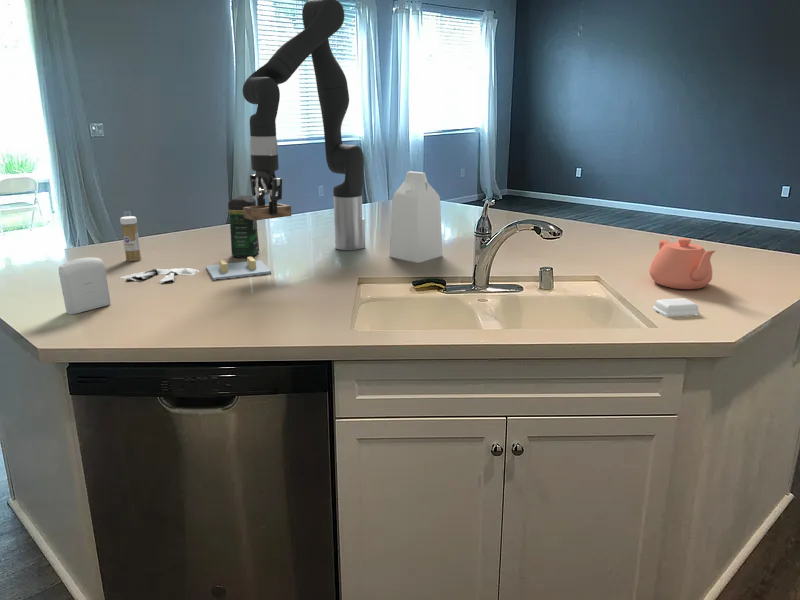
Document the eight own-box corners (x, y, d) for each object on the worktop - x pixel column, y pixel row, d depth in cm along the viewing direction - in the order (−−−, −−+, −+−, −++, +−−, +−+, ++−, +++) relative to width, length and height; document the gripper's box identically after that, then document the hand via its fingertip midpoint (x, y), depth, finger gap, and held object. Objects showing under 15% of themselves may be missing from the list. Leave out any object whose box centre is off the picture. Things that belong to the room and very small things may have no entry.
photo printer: (71, 316, 149) (62, 264, 145) (62, 312, 151) (53, 261, 148) (113, 305, 156) (106, 255, 152) (105, 301, 159) (97, 253, 155)
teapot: (734, 295, 161) (741, 247, 157) (680, 299, 158) (686, 250, 154) (680, 272, 181) (686, 229, 177) (632, 275, 178) (637, 232, 175)
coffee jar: (254, 258, 199) (249, 198, 194) (229, 258, 200) (223, 198, 194) (262, 251, 209) (258, 194, 203) (238, 250, 209) (233, 193, 203)
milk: (442, 256, 201) (443, 172, 193) (418, 262, 193) (418, 175, 185) (414, 250, 209) (413, 169, 201) (389, 256, 201) (388, 172, 193)
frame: (280, 213, 189) (279, 203, 188) (291, 216, 185) (290, 205, 184) (243, 217, 182) (242, 207, 181) (254, 220, 177) (253, 209, 176)
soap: (665, 319, 145) (667, 306, 144) (649, 309, 152) (651, 297, 151) (702, 316, 147) (703, 304, 146) (684, 307, 153) (686, 295, 152)
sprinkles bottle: (123, 262, 196) (117, 218, 192) (129, 258, 201) (123, 215, 196) (138, 261, 196) (133, 218, 192) (144, 258, 201) (138, 215, 197)
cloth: (209, 271, 188) (208, 263, 187) (169, 293, 168) (168, 284, 167) (146, 268, 192) (145, 260, 191) (100, 289, 172) (98, 280, 171)
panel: (260, 262, 195) (259, 252, 194) (271, 273, 182) (270, 262, 181) (206, 268, 188) (205, 257, 187) (213, 280, 176) (212, 269, 175)
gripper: (239, 152, 181) (243, 211, 186) (265, 155, 171) (268, 218, 175) (263, 151, 186) (266, 209, 191) (289, 154, 175) (292, 215, 180)
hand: (267, 213), depth 183 cm, fingers closed on frame, 6 cm apart
